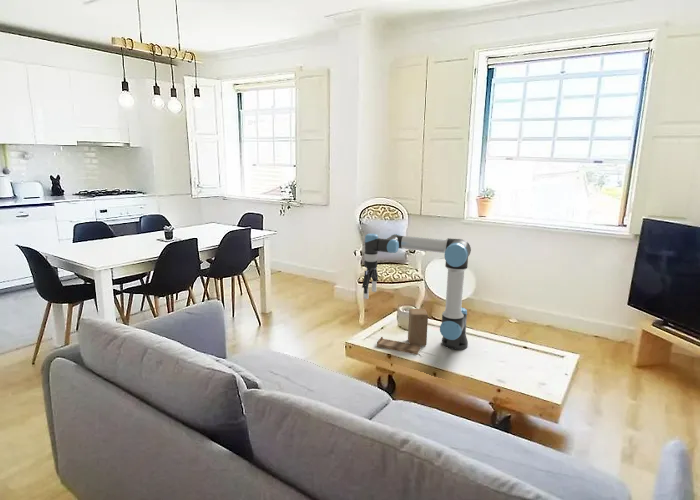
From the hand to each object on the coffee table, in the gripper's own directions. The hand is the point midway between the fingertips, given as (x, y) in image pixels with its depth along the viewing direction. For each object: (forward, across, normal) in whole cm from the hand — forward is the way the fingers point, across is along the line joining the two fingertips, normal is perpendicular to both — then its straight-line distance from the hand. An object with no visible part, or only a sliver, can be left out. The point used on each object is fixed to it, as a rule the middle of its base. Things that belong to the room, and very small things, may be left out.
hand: (370, 294), depth 262 cm
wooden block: (+28, -6, +28) cm, 40 cm away
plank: (+28, +5, +20) cm, 35 cm away
